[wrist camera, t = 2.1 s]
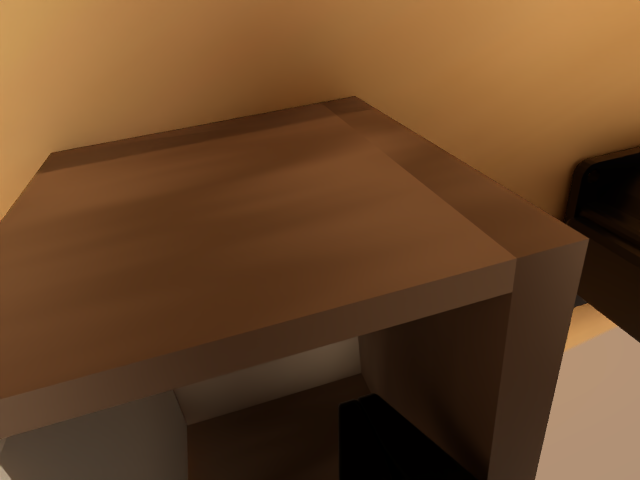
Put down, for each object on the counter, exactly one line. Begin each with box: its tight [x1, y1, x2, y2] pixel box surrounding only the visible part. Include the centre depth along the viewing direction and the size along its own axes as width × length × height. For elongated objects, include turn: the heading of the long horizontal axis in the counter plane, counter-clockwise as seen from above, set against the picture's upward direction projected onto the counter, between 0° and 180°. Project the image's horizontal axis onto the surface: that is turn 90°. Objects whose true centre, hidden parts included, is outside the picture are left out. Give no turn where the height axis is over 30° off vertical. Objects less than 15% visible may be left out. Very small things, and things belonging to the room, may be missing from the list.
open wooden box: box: [0, 96, 589, 480], centre depth 11 cm, size 8×10×8 cm
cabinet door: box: [0, 390, 188, 480], centre depth 9 cm, size 1×8×7 cm, turn 7°
